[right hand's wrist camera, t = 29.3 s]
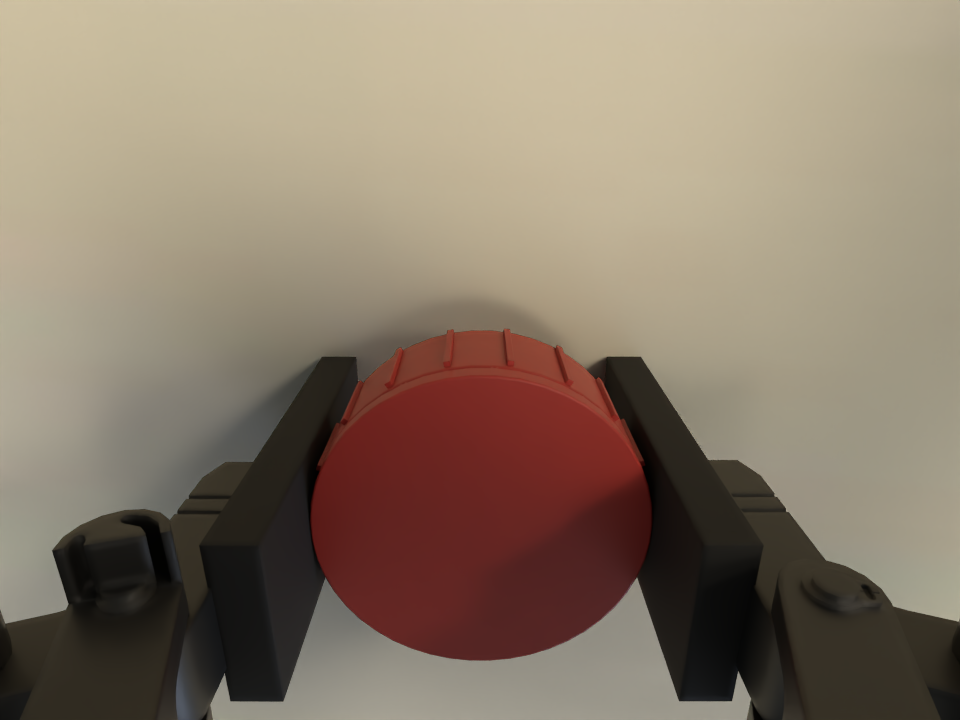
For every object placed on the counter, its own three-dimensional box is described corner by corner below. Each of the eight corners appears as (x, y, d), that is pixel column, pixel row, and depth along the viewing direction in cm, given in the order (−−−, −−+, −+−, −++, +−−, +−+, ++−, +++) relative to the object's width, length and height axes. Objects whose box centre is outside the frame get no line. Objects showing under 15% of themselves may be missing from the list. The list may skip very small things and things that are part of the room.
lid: (563, 610, 14) (577, 694, 12) (302, 538, 13) (270, 616, 11) (678, 382, 12) (719, 439, 10) (378, 283, 11) (355, 322, 9)
